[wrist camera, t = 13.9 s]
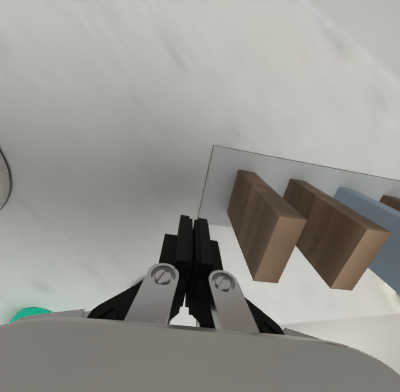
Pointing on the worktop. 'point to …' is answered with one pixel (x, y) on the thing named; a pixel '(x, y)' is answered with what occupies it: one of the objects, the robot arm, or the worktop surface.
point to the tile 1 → (263, 226)
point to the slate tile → (385, 217)
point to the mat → (279, 180)
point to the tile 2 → (334, 235)
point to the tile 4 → (391, 202)
